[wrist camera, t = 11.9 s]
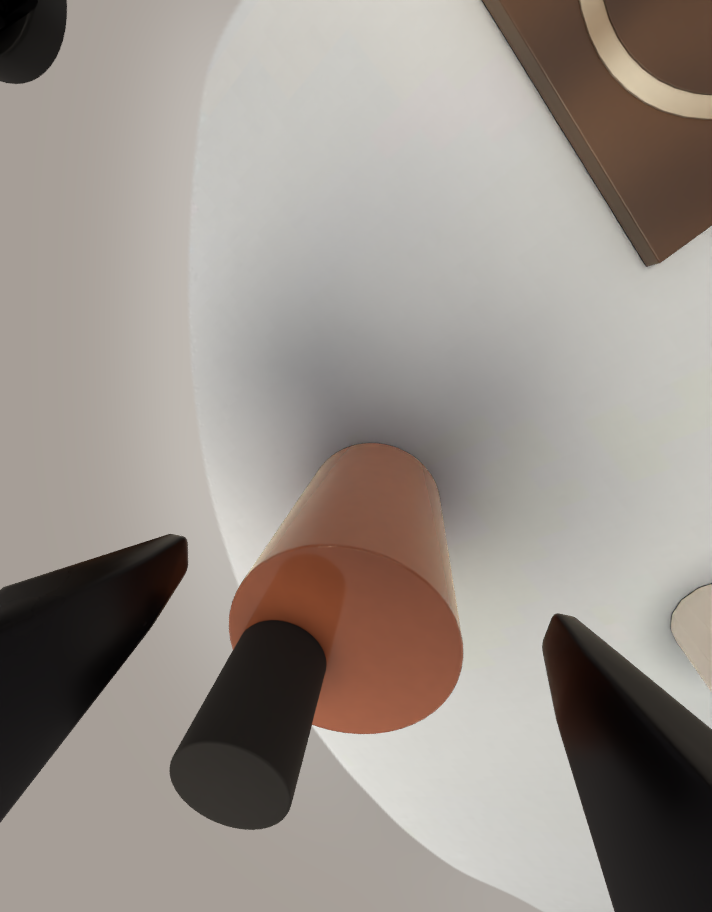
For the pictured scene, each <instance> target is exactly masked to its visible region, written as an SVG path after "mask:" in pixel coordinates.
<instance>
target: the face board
mask: <svg viewBox="0 0 712 912" xmlns="http://www.w3.org/2000/svg"><path fill="white" fill-rule="evenodd" d="M482 1H483V2H484V4H485V5H486V7H487V9H488V10H489V12H490V14H491V15H492V17H493V18H494V20H495V22H496V23H497V25H498V26H499V28H500V30H501V31H502V33H503V35H504V36H505V38H506V39H507V41H508V43H509V44H510V46H511V48H512V49H513V51H514V52H515V54H516V56H517V57H518V59H519V61H520V62H521V64H522V65H523V67H524V69H525V70H526V72H527V73H528V75H529V77H530V78H531V80H532V82H533V83H534V85H535V86H536V88H537V90H538V91H539V93H540V95H541V96H542V98H543V99H544V101H545V103H546V104H547V106H548V108H549V109H550V111H551V112H552V114H553V116H554V117H555V119H556V120H557V122H558V124H559V125H560V127H561V129H562V130H563V132H564V133H565V135H566V137H567V138H568V140H569V142H570V143H571V145H572V146H573V148H574V150H575V151H576V153H577V155H578V156H579V158H580V159H581V161H582V163H583V164H584V166H585V167H586V169H587V171H588V172H589V174H590V176H591V177H592V179H593V180H594V182H595V184H596V185H597V187H598V189H599V190H600V192H601V193H602V195H603V197H604V198H605V200H606V202H607V203H608V205H609V206H610V208H611V210H612V211H613V213H614V214H615V216H616V218H617V219H618V221H619V223H620V224H621V226H622V227H623V229H624V231H625V232H626V234H627V236H628V237H629V239H630V240H631V242H632V244H633V245H634V247H635V249H636V250H637V252H638V253H639V255H640V257H641V258H642V260H643V261H644V263H645V265H646V266H651V265H655V264H658V263H661V262H662V261H664V260H665V259H666V258H668V257H669V256H670V255H672V254H673V253H675V252H676V251H677V250H679V249H680V248H681V247H683V246H684V245H686V244H687V243H688V242H690V241H691V240H692V239H694V238H695V237H697V236H698V235H699V234H701V233H702V232H703V231H705V230H706V229H708V228H709V227H710V226H712V0H482Z"/></svg>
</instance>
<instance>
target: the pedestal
mask: <svg viewBox="0 0 712 912" xmlns="http://www.w3.org/2000/svg"><path fill="white" fill-rule="evenodd" d="M268 620H278V621H284V622H289V623H291V624H294V625H297V626H299V627H301V628H302V629H304V630H306V631H307V632H308V633H310V634H311V635H312V636H313V637H314V638H315V639H316V640H317V641H318V643H319V644H320V646H321V647H322V649H323V651H324V654H325V657H326V672H325V676H324V679H323V683H322V687H321V691H320V695H319V699H318V703H317V707H316V711H315V714H314V718H313V722H312V725H315V726H317V727H320V728H324V729H328V730H332V731H337V732H343V733H353V734H376V733H384V732H390V731H394V730H398V729H402V728H405V727H407V726H410V725H413V724H415V723H417V722H419V721H421V720H423V719H425V718H426V717H427V716H429V715H430V714H432V713H433V712H435V711H436V710H437V709H438V708H439V707H440V706H441V705H442V704H443V703H444V702H445V701H446V699H447V698H448V697H449V696H450V694H451V693H452V691H453V689H454V687H455V685H456V683H457V681H458V678H459V675H460V672H461V669H462V663H463V641H462V635H461V628H460V622H459V616H458V609H457V603H456V597H455V590H454V584H453V578H452V571H451V565H450V559H449V552H448V546H447V540H446V534H445V527H444V521H443V515H442V508H441V502H440V496H439V491H438V488H437V486H436V483H435V481H434V479H433V477H432V475H431V474H430V473H429V471H428V470H427V468H426V467H425V466H424V465H423V464H422V463H421V462H420V461H419V460H417V459H416V458H415V457H414V456H412V455H410V454H409V453H407V452H405V451H403V450H401V449H399V448H396V447H393V446H390V445H385V444H380V443H364V444H358V445H353V446H350V447H347V448H345V449H343V450H341V451H339V452H337V453H335V454H334V455H332V456H331V457H330V458H329V459H328V460H327V461H325V462H324V464H323V465H322V466H321V467H320V468H319V470H318V471H317V473H316V474H315V476H314V477H313V479H312V480H311V482H310V483H309V485H308V486H307V488H306V489H305V490H304V492H303V493H302V495H301V496H300V498H299V499H298V501H297V502H296V504H295V505H294V507H293V508H292V510H291V511H290V512H289V514H288V515H287V517H286V518H285V520H284V521H283V523H282V524H281V526H280V527H279V529H278V530H277V531H276V533H275V534H274V536H273V537H272V539H271V540H270V542H269V543H268V545H267V546H266V548H265V549H264V551H263V552H262V553H261V555H260V556H259V558H258V559H257V561H256V562H255V564H254V565H253V567H252V568H251V570H250V571H249V573H248V574H247V575H246V577H245V578H244V580H243V581H242V583H241V585H240V586H239V588H238V590H237V592H236V594H235V596H234V599H233V601H232V605H231V610H230V615H229V633H230V640H231V644H232V648H233V649H234V648H235V646H236V644H237V642H238V641H239V639H240V637H241V635H242V634H243V633H244V631H245V630H246V629H248V628H249V627H250V626H252V625H254V624H256V623H259V622H262V621H268Z"/></svg>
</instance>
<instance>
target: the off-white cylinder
mask: <svg viewBox="0 0 712 912" xmlns="http://www.w3.org/2000/svg"><path fill="white" fill-rule="evenodd" d="M671 631H672V633H673V635H674V637H675V639H676V641H677V643H678V645H679V646H680V648H681V649H682V650H683V652H684V653H685V655H686V656H687V658H688V659H689V660H690V662H691V663H692V665H693V666H694V668H695V669H696V670H697V672H698V673H699V675H700V676H701V678H702V679H703V681H704V682H705V683H706V685H707V686H708V688H709V689H710V691H711V692H712V584H710V585H707V586H704V587H701V588H698V589H697V590H695V591H694V592H692V593H691V594H690V595H688V596H687V597H685V598H684V599H682V601H681V602H680V604H679V605H678V606H677V608H676V609H675V611H674V612H673V614H672V621H671Z"/></svg>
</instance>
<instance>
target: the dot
mask: <svg viewBox="0 0 712 912" xmlns="http://www.w3.org/2000/svg"><path fill="white" fill-rule="evenodd" d="M325 672H326V657H325V654H324V651H323V649H322V647H321V646H320V644H319V643H318V641H317V640H316V639H315V638H314V637H313V636H312V635H311V634H310V633H308V632H307V631H306V630H304V629H302V628H301V627H299V626H297V625H294V624H291V623H289V622H284V621H278V620H268V621H262V622H259V623H256V624H254V625H252V626H250V627H249V628H248V629H246V630H245V631H244V633H243V634H242V635H241V637H240V639H239V641H238V642H237V644H236V646H235V648H234V649H233V651H232V653H231V655H230V656H229V658H228V660H227V662H226V664H225V666H224V667H223V669H222V671H221V673H220V674H219V676H218V678H217V680H216V682H215V683H214V685H213V687H212V688H211V690H210V692H209V694H208V695H207V697H206V699H205V701H204V703H203V704H202V706H201V708H200V710H199V711H198V713H197V715H196V717H195V719H194V720H193V722H192V724H191V726H190V727H189V729H188V731H187V733H186V735H185V736H184V738H183V740H182V741H181V744H180V745H179V747H178V749H177V750H176V752H175V754H174V756H173V758H172V760H171V764H170V777H171V781H172V783H173V785H174V787H175V790H176V791H177V792H178V794H179V795H180V796H181V798H182V799H183V800H184V801H185V802H186V803H187V804H188V805H189V806H190V807H191V808H193V809H194V810H195V811H197V812H198V813H200V814H201V815H203V816H205V817H206V818H208V819H210V820H213V821H215V822H217V823H220V824H222V825H226V826H229V827H233V828H239V829H249V830H255V829H263V828H267V827H271V826H273V825H275V824H277V823H279V822H280V821H281V820H283V818H284V817H285V816H286V815H287V813H288V812H289V810H290V807H291V804H292V800H293V796H294V792H295V788H296V784H297V780H298V776H299V772H300V768H301V765H302V761H303V757H304V752H305V749H306V745H307V742H308V737H309V734H310V730H311V726H312V722H313V718H314V714H315V711H316V707H317V703H318V699H319V695H320V691H321V687H322V683H323V679H324V676H325Z"/></svg>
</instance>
